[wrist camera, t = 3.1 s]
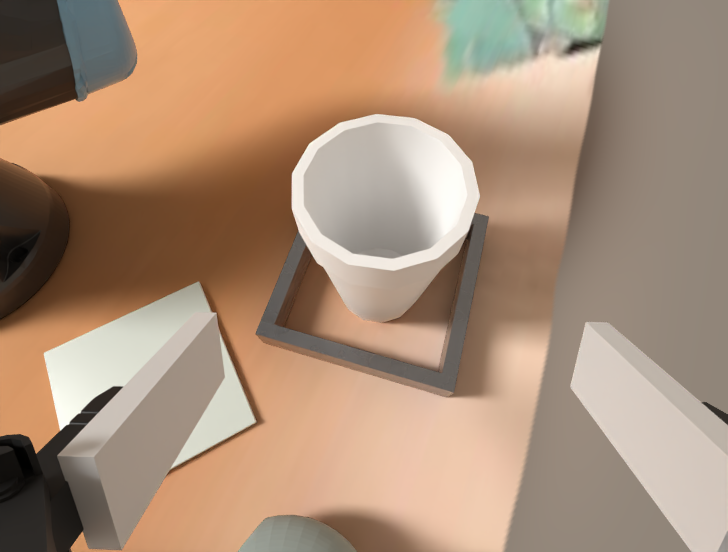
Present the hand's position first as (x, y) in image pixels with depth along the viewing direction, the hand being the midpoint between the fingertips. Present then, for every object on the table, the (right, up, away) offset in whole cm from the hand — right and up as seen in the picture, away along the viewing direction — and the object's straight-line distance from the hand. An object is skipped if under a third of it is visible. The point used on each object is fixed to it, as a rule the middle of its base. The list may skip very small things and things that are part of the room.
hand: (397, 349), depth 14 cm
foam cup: (0, +2, +18) cm, 18 cm away
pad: (-17, -5, +14) cm, 23 cm away
